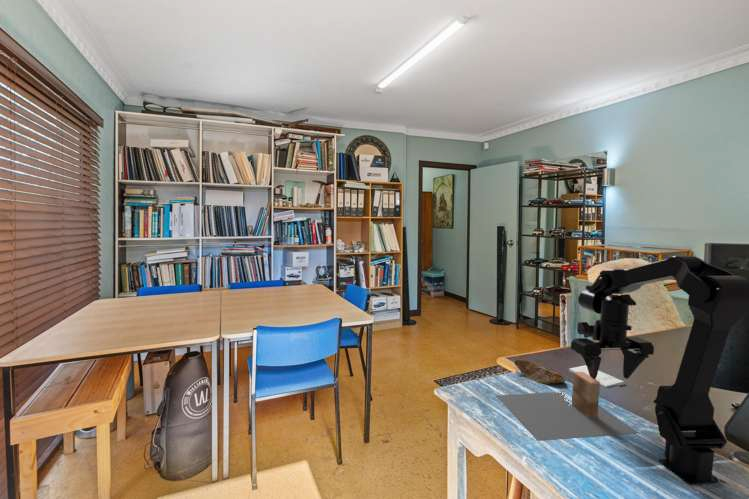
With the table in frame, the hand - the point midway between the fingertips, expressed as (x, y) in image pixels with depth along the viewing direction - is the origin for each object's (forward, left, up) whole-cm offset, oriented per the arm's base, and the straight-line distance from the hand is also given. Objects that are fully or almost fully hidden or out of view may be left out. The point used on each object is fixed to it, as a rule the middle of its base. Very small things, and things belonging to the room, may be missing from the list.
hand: (609, 378), depth 90 cm
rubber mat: (0, +13, -9) cm, 16 cm away
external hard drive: (+18, -12, -9) cm, 23 cm away
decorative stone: (+20, +6, -9) cm, 23 cm away
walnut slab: (0, +6, -8) cm, 10 cm away
